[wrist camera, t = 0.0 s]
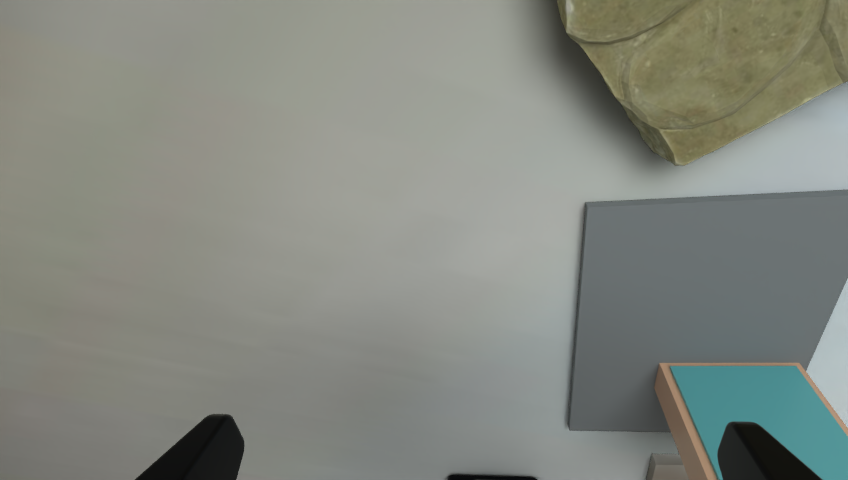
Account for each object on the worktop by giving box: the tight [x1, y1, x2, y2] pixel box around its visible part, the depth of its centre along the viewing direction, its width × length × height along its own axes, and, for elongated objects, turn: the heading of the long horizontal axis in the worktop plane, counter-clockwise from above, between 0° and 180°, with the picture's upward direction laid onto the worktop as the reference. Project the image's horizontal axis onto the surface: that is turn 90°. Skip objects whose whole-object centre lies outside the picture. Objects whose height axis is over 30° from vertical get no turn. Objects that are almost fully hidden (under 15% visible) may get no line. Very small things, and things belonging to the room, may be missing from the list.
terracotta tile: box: [654, 363, 848, 480], centre depth 23 cm, size 2×7×8 cm, turn 96°
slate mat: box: [568, 190, 848, 432], centre depth 25 cm, size 16×12×1 cm
